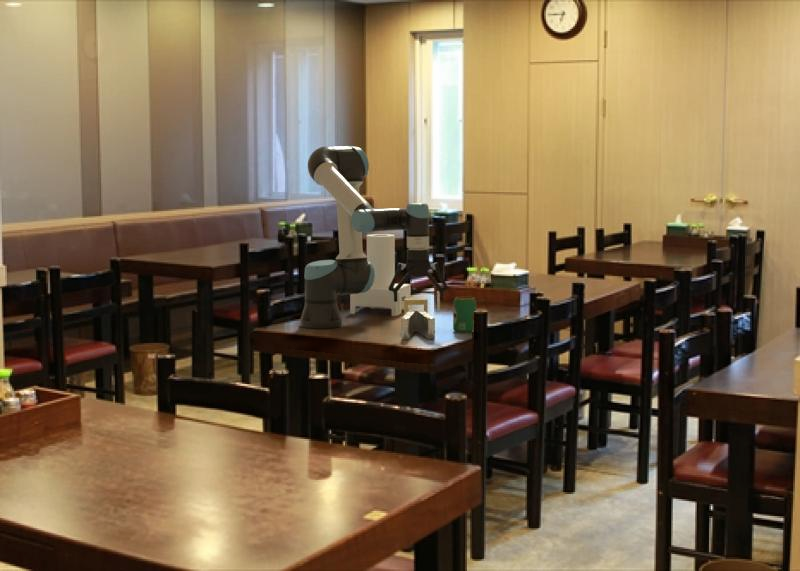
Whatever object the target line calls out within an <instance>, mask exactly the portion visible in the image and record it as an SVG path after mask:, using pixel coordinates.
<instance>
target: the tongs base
mask: <svg viewBox="0 0 800 571" xmlns="http://www.w3.org/2000/svg"><path fill="white" fill-rule="evenodd" d="M408 311H415V331H417V311H424V309H409V310H408Z"/></svg>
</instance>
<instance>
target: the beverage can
mask: <svg viewBox="0 0 800 571" xmlns="http://www.w3.org/2000/svg"><path fill="white" fill-rule="evenodd" d="M452 304H453V305H452V306H453V309H452V310H453V311H452V316H453V317H452V319H453V321H452V322H453V323H452V328H453V329H452V330H453V331H454V333H456V334H472V330H473V312H474V311H476V312H477V301H476V299H475V297H473V296H456V297H454V300H453V303H452Z"/></svg>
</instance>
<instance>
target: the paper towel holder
mask: <svg viewBox="0 0 800 571" xmlns="http://www.w3.org/2000/svg"><path fill="white" fill-rule="evenodd" d="M395 237H396V235H395V234H391V233H390V234H389V233H383V234H382V233H376V234H375V233H374V234H372V233H370V234H367V235H366V256H367V261H368V262H370V263H371V264H372V265H373V267H374V271H375V278H374V282H373V285H372V286H371V288H370V289H369V290H368V291H367V292H364V293H359V294H349V296H350V297H349V299H350V302H349V305H350V307H349V308H350V310H349V311H350V315H355V314H356V312H357V307H360V310H362V309H364V308H390V309H391V316H392V317H397V316H399V315H401V314H402V302H404V299H412V297H411V284H410V283H404V284H403V285H402V287H401V288H400V289H399V290H398V291H397V292H399V293H400V312H397V302H394V292H393V291H389V286H390V284H391V282H392V279H393V277H394V275H395V273H396V268H395V264H396V254H395V253H396V252H395V251H396V250H395V249H396V247H395V246H396V244H395V243H396V242H395V241H396V240H395V239H396V238H395ZM398 284H399V283H395V285H394V287H393V288H395V287H396V286H397V285H398ZM411 306H412V305H408V311H409V310H412V308H411Z"/></svg>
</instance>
